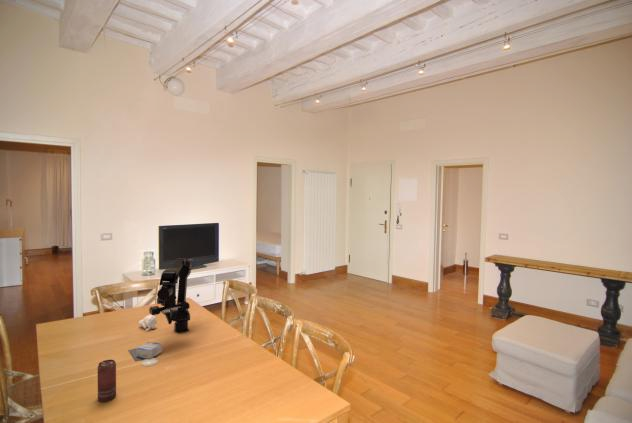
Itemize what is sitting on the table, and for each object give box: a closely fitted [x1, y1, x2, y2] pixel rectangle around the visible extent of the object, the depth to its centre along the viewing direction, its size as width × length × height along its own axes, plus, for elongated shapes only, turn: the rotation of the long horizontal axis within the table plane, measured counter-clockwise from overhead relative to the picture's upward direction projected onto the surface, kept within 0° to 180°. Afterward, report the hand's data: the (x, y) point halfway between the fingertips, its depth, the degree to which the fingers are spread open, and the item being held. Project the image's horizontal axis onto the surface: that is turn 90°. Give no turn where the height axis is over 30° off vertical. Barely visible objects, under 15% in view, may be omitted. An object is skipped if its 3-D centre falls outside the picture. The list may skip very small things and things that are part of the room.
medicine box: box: [135, 341, 163, 359], centre depth 171 cm, size 8×4×9 cm
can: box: [97, 359, 117, 403], centre depth 136 cm, size 6×6×14 cm
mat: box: [128, 347, 159, 362], centre depth 174 cm, size 10×14×1 cm
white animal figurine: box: [138, 314, 158, 332], centre depth 204 cm, size 6×8×12 cm
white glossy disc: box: [140, 357, 159, 368], centre depth 164 cm, size 7×7×1 cm
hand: (169, 324), depth 181 cm, fingers closed
